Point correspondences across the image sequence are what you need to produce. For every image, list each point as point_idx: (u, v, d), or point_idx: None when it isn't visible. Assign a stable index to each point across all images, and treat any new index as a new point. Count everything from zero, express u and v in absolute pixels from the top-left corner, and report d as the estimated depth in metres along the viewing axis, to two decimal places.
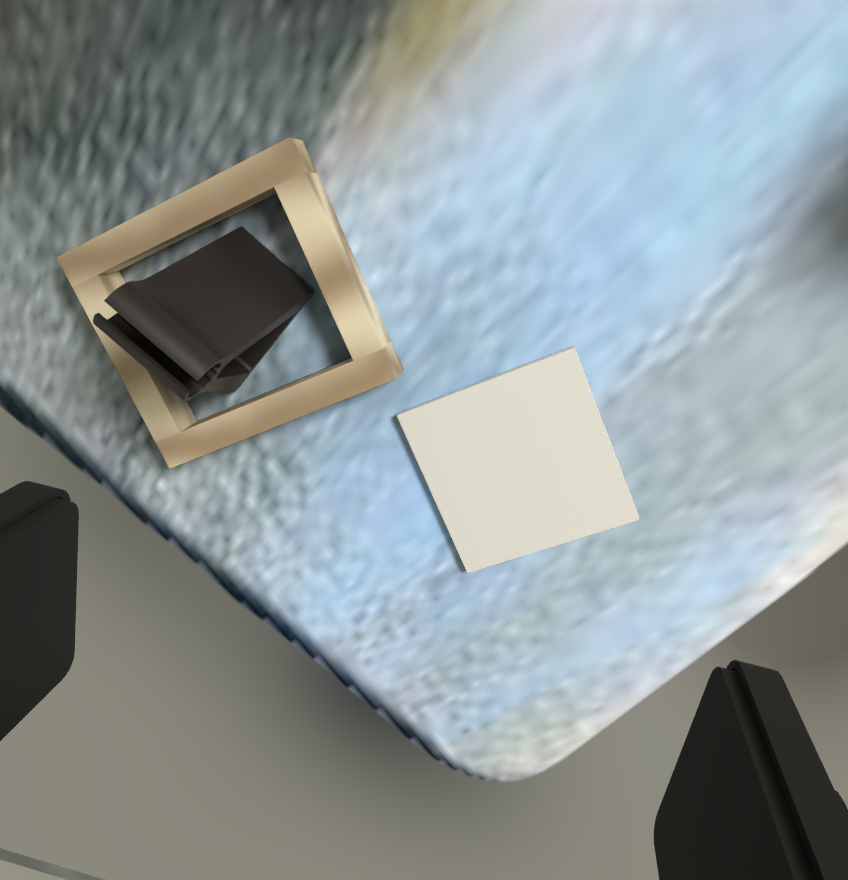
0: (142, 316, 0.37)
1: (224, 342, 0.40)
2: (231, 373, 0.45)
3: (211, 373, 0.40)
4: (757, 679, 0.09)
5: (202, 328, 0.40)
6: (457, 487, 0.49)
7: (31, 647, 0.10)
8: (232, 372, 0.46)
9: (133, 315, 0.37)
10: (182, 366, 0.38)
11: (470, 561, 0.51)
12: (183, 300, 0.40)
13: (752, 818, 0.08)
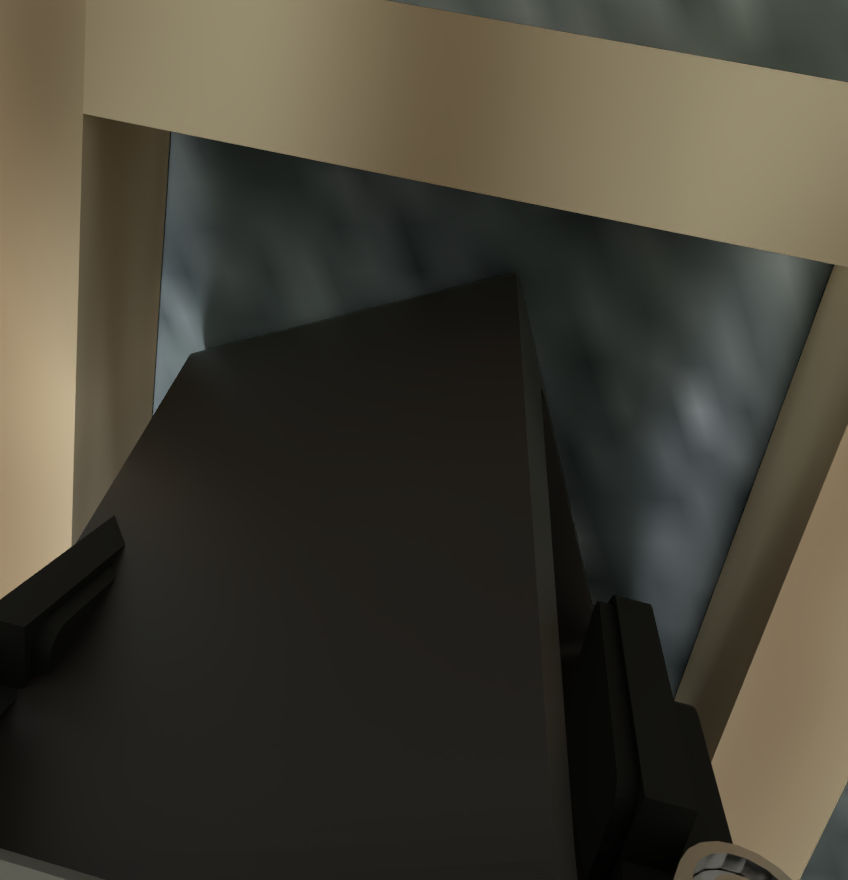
0: None
1: None
2: None
3: None
4: (628, 609, 0.10)
5: None
6: None
7: None
8: None
9: None
10: None
11: None
12: None
13: (600, 720, 0.09)
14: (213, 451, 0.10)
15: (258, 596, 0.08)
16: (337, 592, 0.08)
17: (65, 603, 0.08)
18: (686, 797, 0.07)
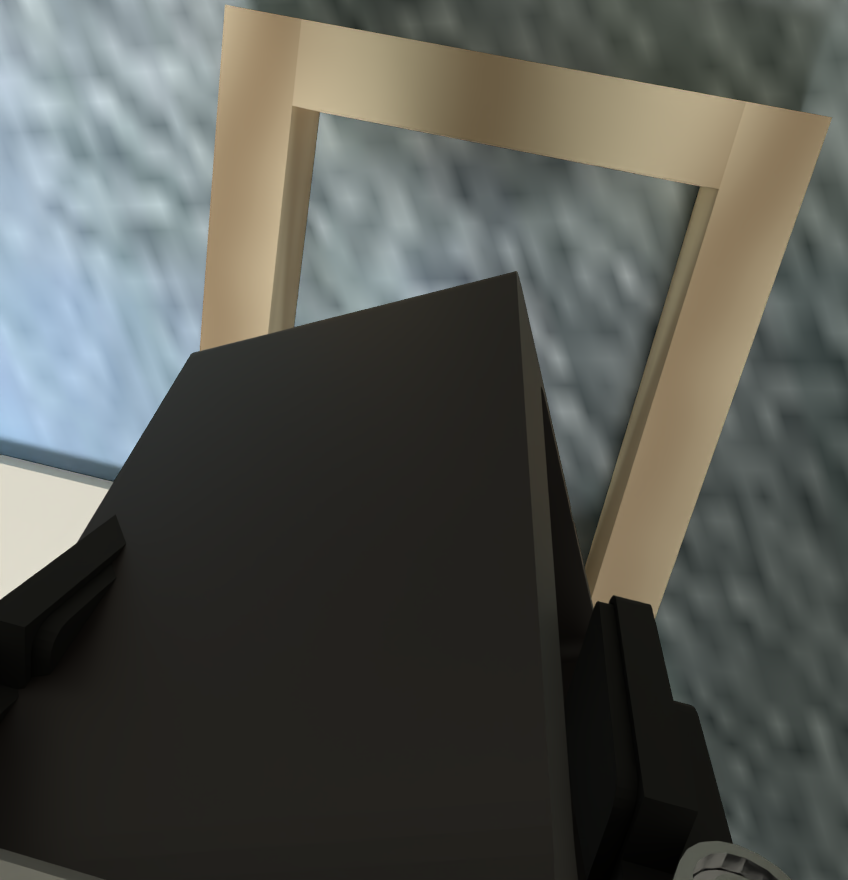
0: None
1: None
2: None
3: None
4: (627, 609, 0.10)
5: None
6: None
7: None
8: None
9: None
10: None
11: None
12: None
13: (600, 720, 0.09)
14: (214, 449, 0.11)
15: (259, 594, 0.08)
16: (338, 590, 0.08)
17: (65, 603, 0.08)
18: (685, 797, 0.07)
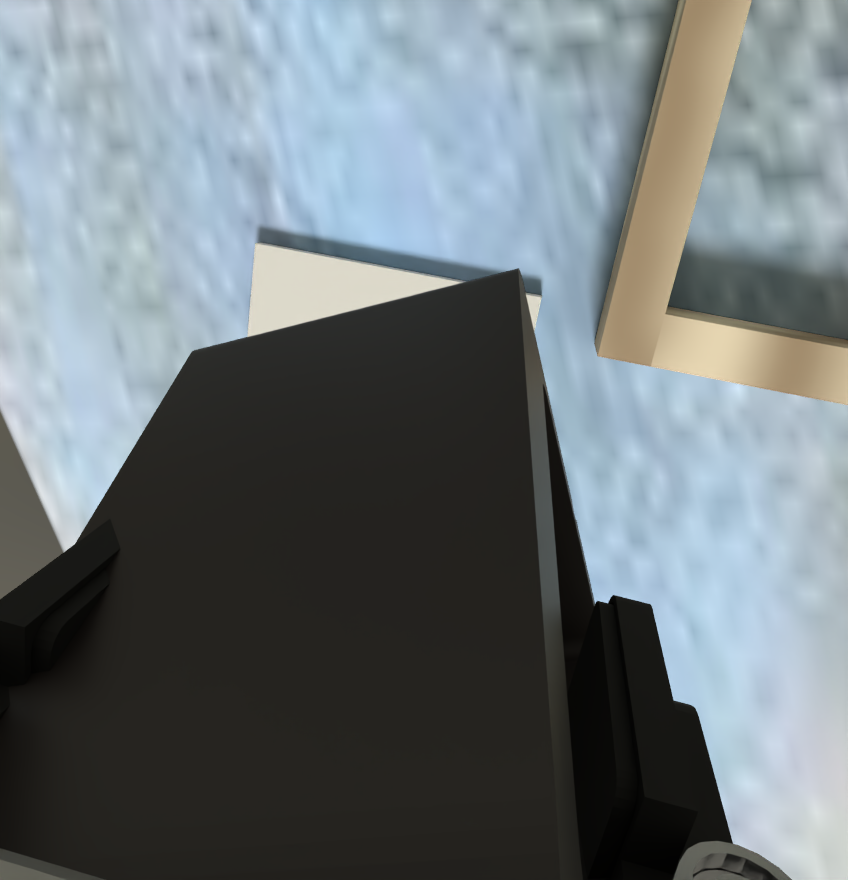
0: None
1: None
2: None
3: None
4: (628, 609, 0.10)
5: None
6: None
7: None
8: None
9: None
10: None
11: (270, 259, 0.31)
12: None
13: (600, 720, 0.09)
14: (215, 447, 0.10)
15: (261, 591, 0.08)
16: (340, 587, 0.08)
17: (65, 603, 0.08)
18: (686, 797, 0.07)
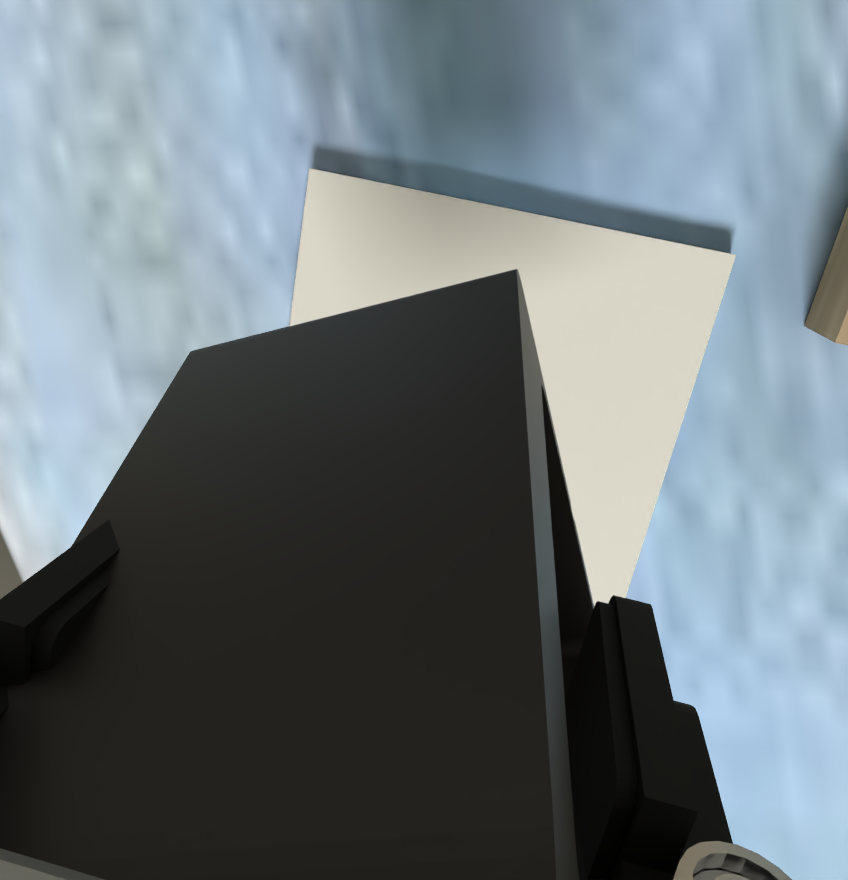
0: None
1: None
2: None
3: None
4: (627, 609, 0.10)
5: None
6: None
7: None
8: None
9: None
10: None
11: (331, 193, 0.21)
12: None
13: (600, 720, 0.09)
14: (213, 448, 0.10)
15: (258, 592, 0.08)
16: (337, 588, 0.08)
17: (65, 603, 0.08)
18: (686, 796, 0.07)
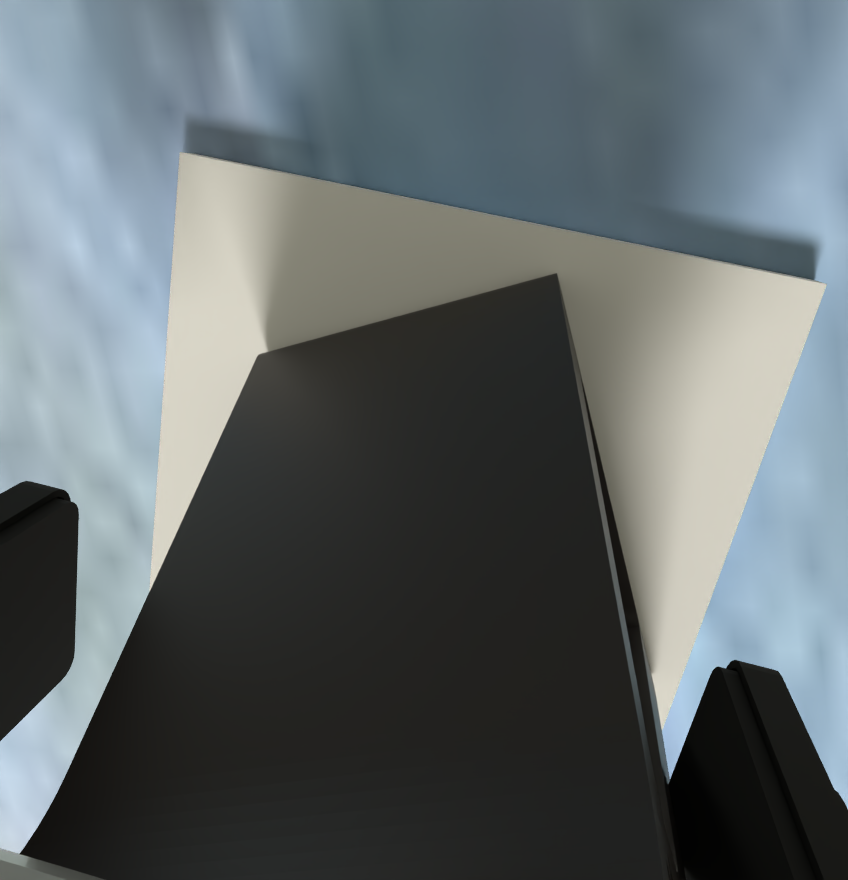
0: None
1: None
2: None
3: None
4: (757, 679, 0.09)
5: None
6: None
7: (31, 647, 0.10)
8: None
9: None
10: None
11: (213, 189, 0.14)
12: None
13: (752, 818, 0.08)
14: (296, 438, 0.12)
15: (358, 557, 0.09)
16: (429, 550, 0.09)
17: None
18: None
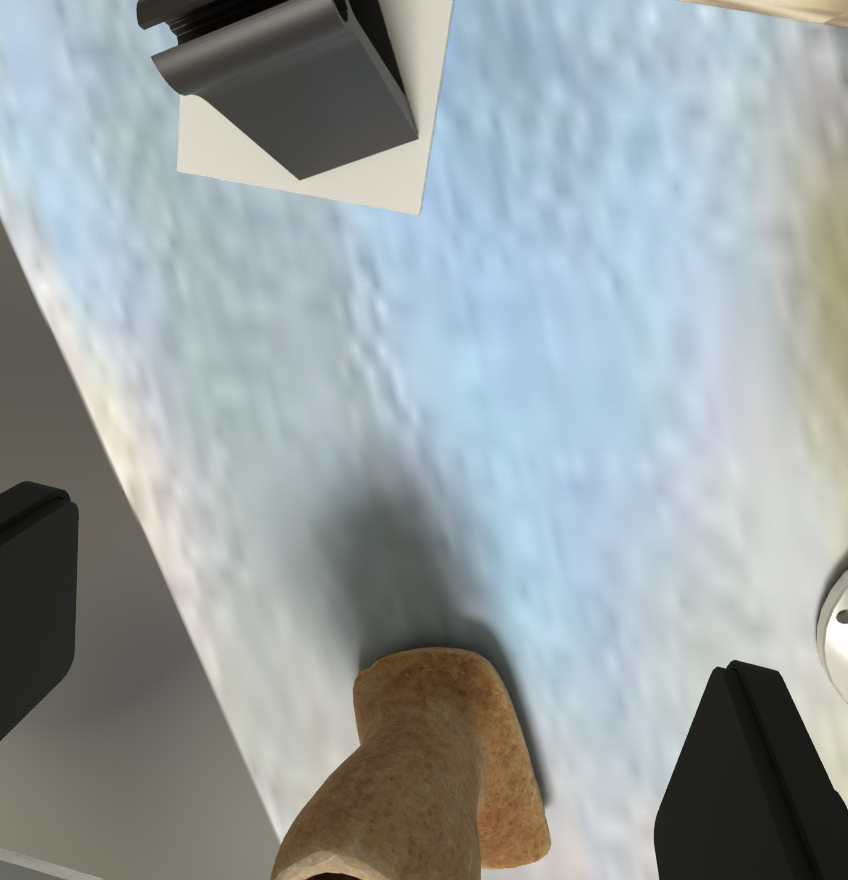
0: (279, 31, 0.23)
1: (224, 94, 0.27)
2: None
3: None
4: (757, 679, 0.09)
5: (254, 78, 0.26)
6: None
7: (31, 647, 0.10)
8: None
9: (285, 18, 0.23)
10: (179, 48, 0.23)
11: None
12: (309, 67, 0.26)
13: (752, 818, 0.08)
14: None
15: None
16: None
17: None
18: None
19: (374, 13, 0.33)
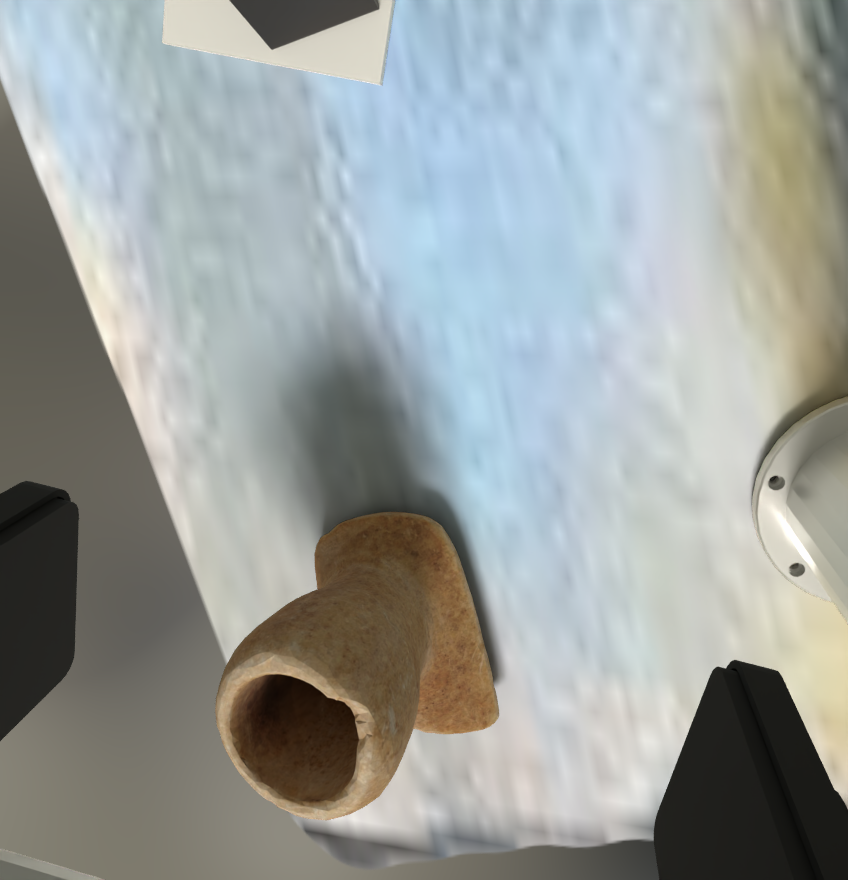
0: None
1: None
2: None
3: None
4: (757, 679, 0.09)
5: None
6: None
7: (31, 647, 0.10)
8: None
9: None
10: None
11: None
12: None
13: (752, 818, 0.08)
14: None
15: None
16: None
17: None
18: None
19: None
